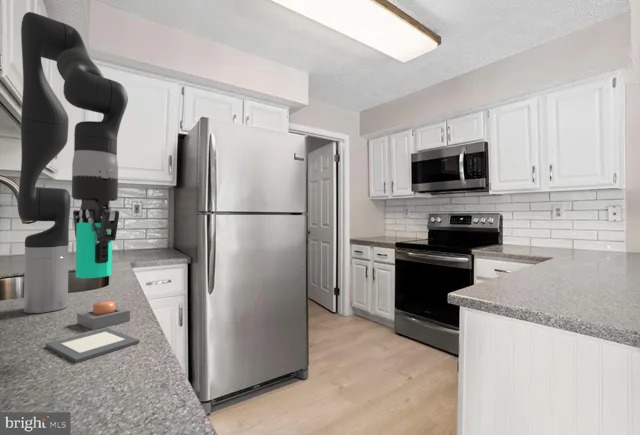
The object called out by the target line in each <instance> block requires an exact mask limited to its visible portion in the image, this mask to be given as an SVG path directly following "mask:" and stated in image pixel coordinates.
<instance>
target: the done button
mask: <svg viewBox="0 0 640 435" xmlns="http://www.w3.org/2000/svg"><path fill="white" fill-rule="evenodd" d="M115 306H116V302H115V301H114V300H113V301H111V300H109V301H108V300H107V301H100V302H96V303H93V304H92V310H93V315H96V316H100V315H105V314H109V313H114V312H115Z"/></svg>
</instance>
